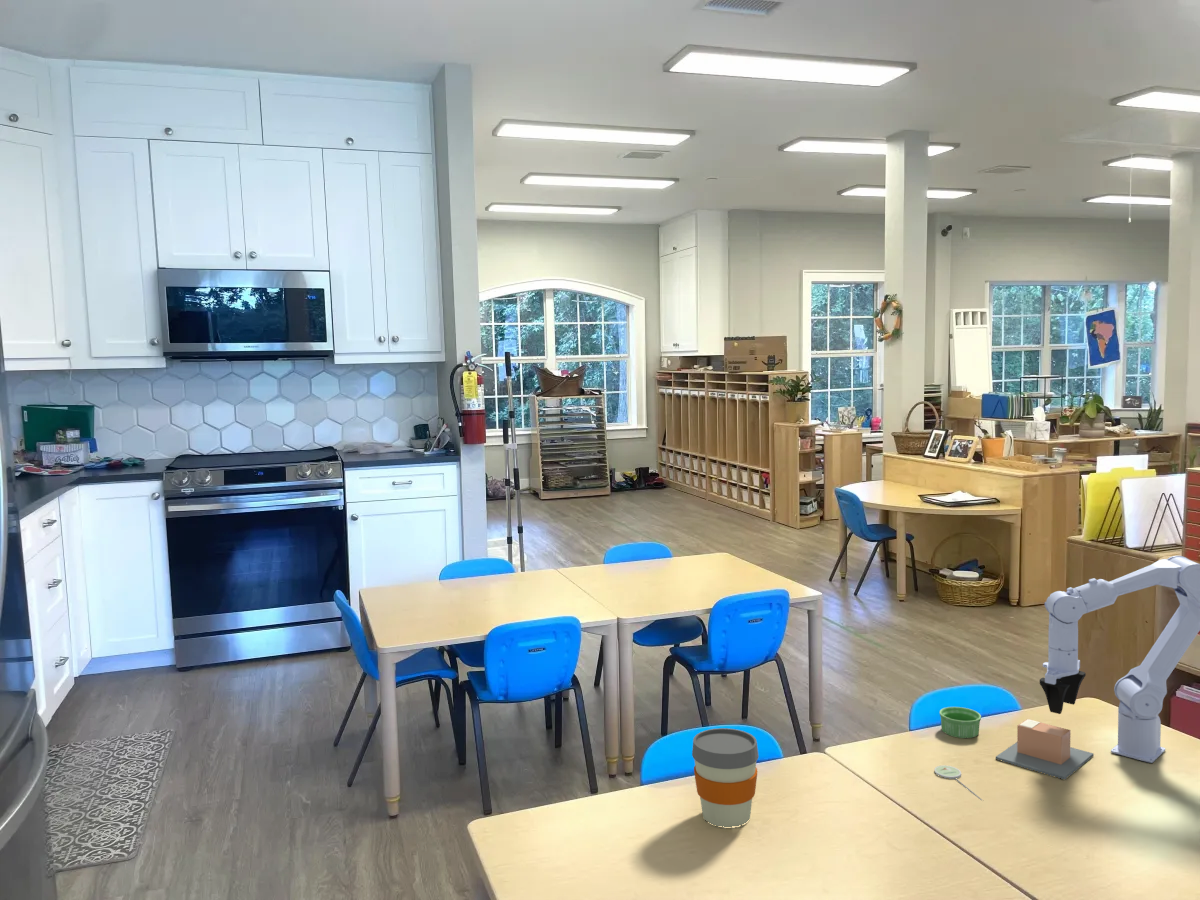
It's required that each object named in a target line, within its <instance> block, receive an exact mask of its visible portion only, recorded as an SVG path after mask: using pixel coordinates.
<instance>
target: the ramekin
mask: <svg viewBox="0 0 1200 900" xmlns="http://www.w3.org/2000/svg"><path fill="white" fill-rule="evenodd" d="M939 717H940V723H941V724H940V726H941V731H942V732H943V733H944V734H946V735H947V736H950V737H953V738H958V739H972V738H975V737H977V736H978V735H979V732H980V725H981V724H980V723H981V720H982V715H981V714H980V713H979V712H978V711H976V710H974V709H971V708H968V707H967V708H966V707H962V706H961V707H960V706H947V707H943V708H941V709H940V710H939Z"/></svg>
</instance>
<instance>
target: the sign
mask: <svg viewBox="0 0 1200 900" xmlns="http://www.w3.org/2000/svg"><path fill="white" fill-rule="evenodd" d="M934 771H935V772H934V774H935V773H936V774H937V775H936V774H935V775H936V776H938V775H939V776H941V777H940V778H942V777H944V778H943V779H946V778H949V779H948V780H955V781H956V780H957V781H958V782H957V781H956V782H957V783H959V784H960V783H961V784H962V785H963V786H962V785H961V784H960V785H961V786H962V787H963V788H965V789H966V788H967V789H968V792H970V793H971V794H973V795H974V796H975V797H976V798H978V800H980V801H982V800H983V799H982V798H981V797H979V796H978V795H977V794H976V793H975V792H974V791H973V790H971V789H970V788H968V786H966V785H965V784H964V783H962V782H961V781H960V780H959V779H960V778H961V777H962V771H961V770H960V769H959V768H957V767H955V766H952V765H938V766H935V767H934ZM939 776H938V777H939ZM959 777H960V778H959ZM956 778H957V779H956ZM967 789H966V790H967Z"/></svg>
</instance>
